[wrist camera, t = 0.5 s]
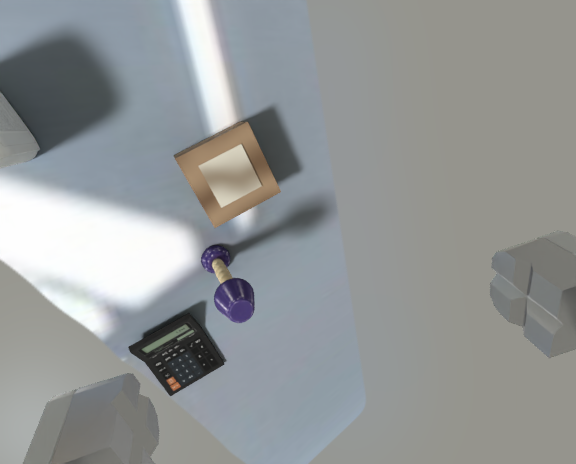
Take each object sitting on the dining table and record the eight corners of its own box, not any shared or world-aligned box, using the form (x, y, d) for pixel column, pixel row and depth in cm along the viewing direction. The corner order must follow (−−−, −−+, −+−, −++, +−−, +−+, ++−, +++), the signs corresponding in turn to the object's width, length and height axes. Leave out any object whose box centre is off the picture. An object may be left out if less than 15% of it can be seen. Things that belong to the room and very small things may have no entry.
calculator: (170, 392, 59) (170, 405, 57) (129, 338, 55) (128, 349, 52) (223, 361, 61) (226, 372, 58) (188, 306, 56) (189, 315, 54)
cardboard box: (173, 155, 50) (175, 158, 45) (239, 121, 51) (248, 121, 47) (210, 219, 54) (215, 228, 49) (270, 186, 55) (281, 192, 50)
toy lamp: (233, 243, 56) (261, 289, 40) (233, 273, 57) (261, 327, 42) (200, 246, 54) (216, 294, 39) (201, 276, 55) (217, 334, 40)
